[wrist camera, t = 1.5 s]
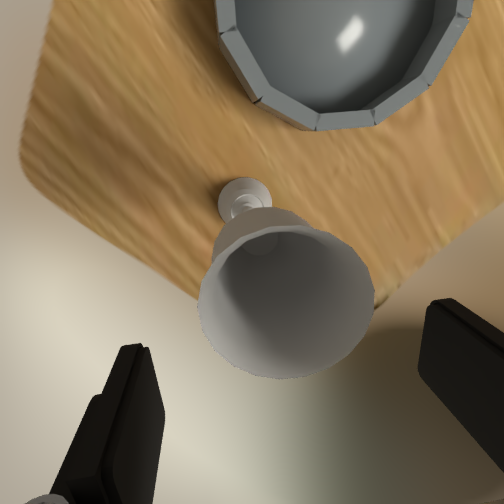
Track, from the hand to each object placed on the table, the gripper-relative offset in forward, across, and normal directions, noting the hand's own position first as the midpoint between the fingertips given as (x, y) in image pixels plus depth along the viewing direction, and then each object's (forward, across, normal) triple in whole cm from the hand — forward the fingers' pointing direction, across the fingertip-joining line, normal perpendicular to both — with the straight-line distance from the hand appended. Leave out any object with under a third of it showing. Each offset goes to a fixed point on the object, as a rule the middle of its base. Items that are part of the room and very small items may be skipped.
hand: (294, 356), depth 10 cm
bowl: (+20, -9, -16) cm, 27 cm away
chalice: (+20, -1, -1) cm, 20 cm away
